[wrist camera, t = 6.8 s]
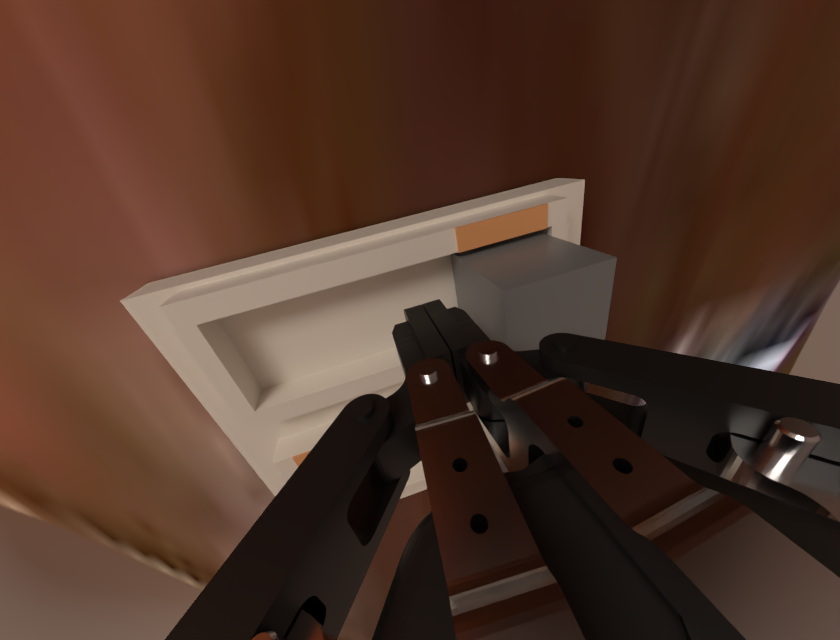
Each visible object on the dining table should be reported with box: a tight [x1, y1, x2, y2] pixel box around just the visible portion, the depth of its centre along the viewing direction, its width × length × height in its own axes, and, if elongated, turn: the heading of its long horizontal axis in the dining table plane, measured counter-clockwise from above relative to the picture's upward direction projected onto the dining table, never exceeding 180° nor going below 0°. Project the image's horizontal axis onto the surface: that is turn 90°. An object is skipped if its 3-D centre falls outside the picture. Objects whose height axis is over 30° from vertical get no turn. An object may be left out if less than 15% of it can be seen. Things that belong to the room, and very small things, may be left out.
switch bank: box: [120, 178, 585, 499], centre depth 17 cm, size 16×20×4 cm
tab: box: [450, 231, 617, 351], centre depth 12 cm, size 4×4×5 cm
